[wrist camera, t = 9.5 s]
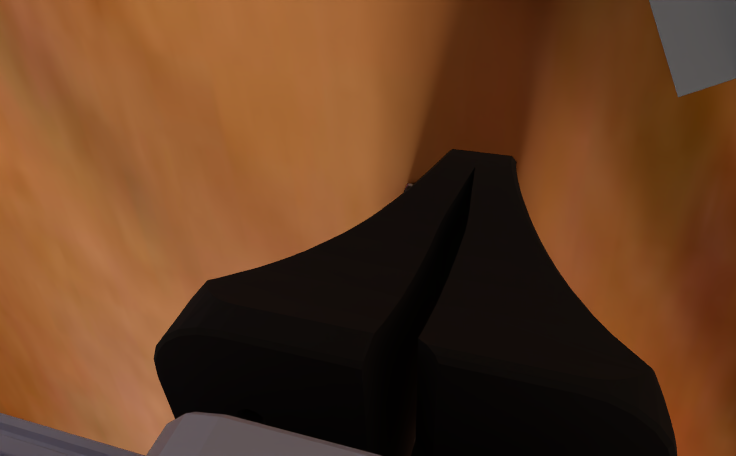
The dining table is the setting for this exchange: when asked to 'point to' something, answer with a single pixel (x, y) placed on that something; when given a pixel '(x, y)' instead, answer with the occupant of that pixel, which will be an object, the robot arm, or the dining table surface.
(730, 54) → the board
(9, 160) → the dining table surface
